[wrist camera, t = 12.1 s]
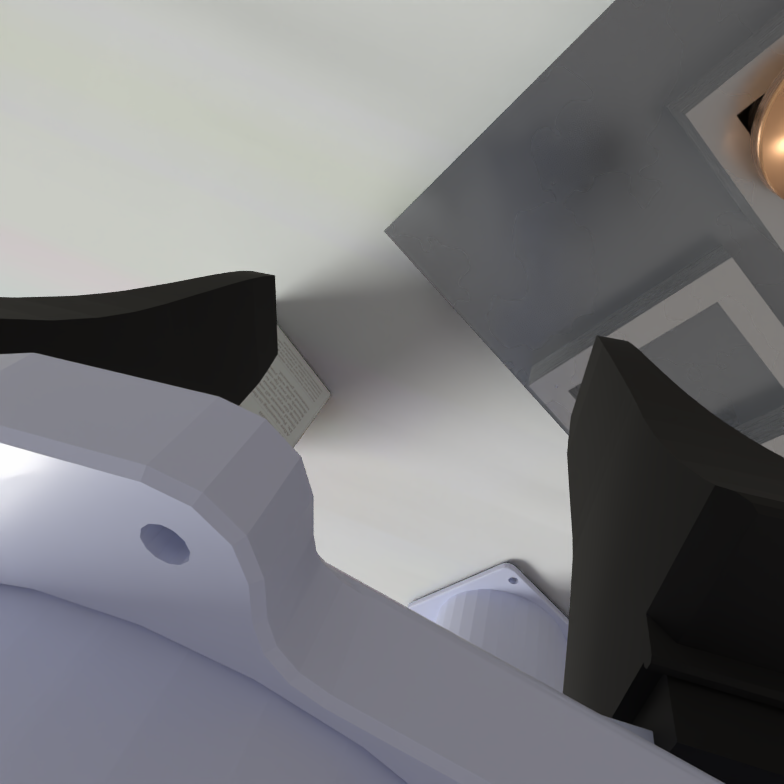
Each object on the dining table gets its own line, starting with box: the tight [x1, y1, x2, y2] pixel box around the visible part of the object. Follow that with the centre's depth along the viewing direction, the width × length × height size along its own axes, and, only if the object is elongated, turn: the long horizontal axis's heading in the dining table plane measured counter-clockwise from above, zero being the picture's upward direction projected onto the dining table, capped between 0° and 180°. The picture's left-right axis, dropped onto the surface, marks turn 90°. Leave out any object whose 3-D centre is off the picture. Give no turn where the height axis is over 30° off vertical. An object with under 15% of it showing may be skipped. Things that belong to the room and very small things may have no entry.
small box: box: [239, 325, 331, 448], centre depth 23 cm, size 8×6×10 cm
